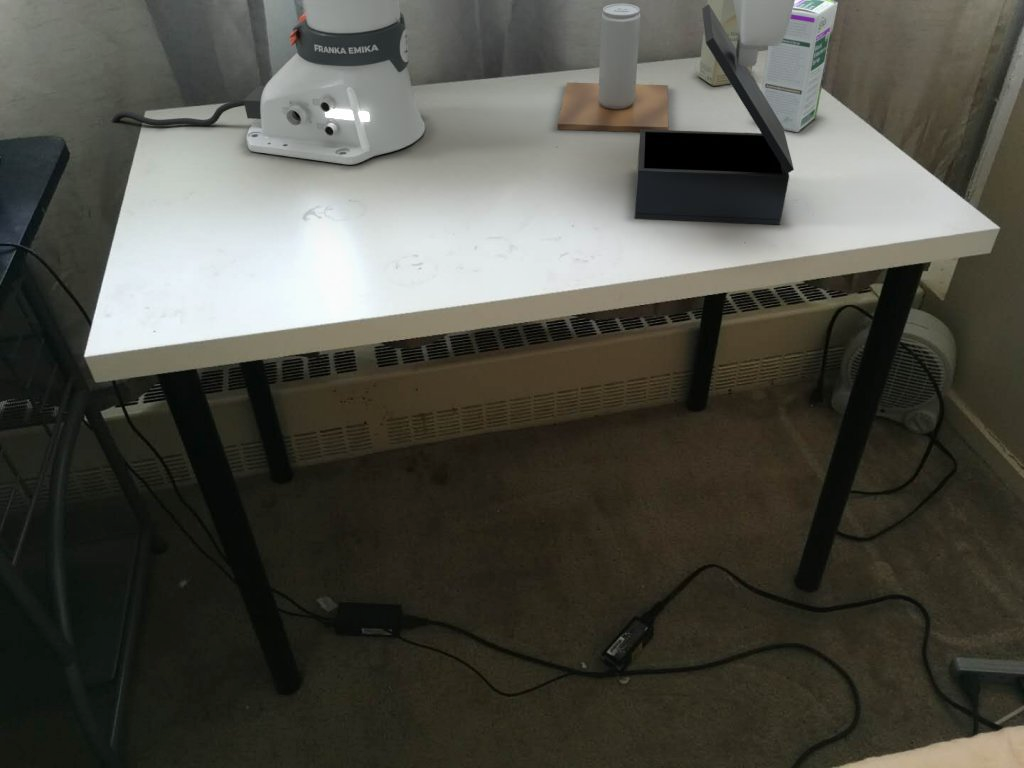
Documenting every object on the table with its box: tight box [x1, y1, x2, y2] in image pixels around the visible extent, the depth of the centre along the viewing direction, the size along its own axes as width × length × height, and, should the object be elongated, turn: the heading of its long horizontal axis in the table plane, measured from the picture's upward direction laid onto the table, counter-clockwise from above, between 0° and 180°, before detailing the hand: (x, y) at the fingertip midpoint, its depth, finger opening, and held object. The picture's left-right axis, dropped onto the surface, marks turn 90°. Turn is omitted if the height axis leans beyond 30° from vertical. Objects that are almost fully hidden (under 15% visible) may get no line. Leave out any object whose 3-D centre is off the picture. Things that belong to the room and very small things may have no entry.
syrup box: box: [761, 0, 839, 133], centre depth 106 cm, size 6×6×14 cm
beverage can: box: [598, 3, 641, 109], centre depth 110 cm, size 5×5×12 cm
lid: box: [701, 4, 795, 174], centre depth 87 cm, size 16×10×1 cm
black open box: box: [634, 129, 790, 226], centre depth 93 cm, size 15×10×6 cm
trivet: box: [556, 82, 669, 133], centre depth 114 cm, size 14×14×1 cm
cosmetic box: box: [698, 0, 753, 87], centre depth 118 cm, size 6×4×12 cm
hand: (745, 61), depth 85 cm, fingers closed, pressing on lid
